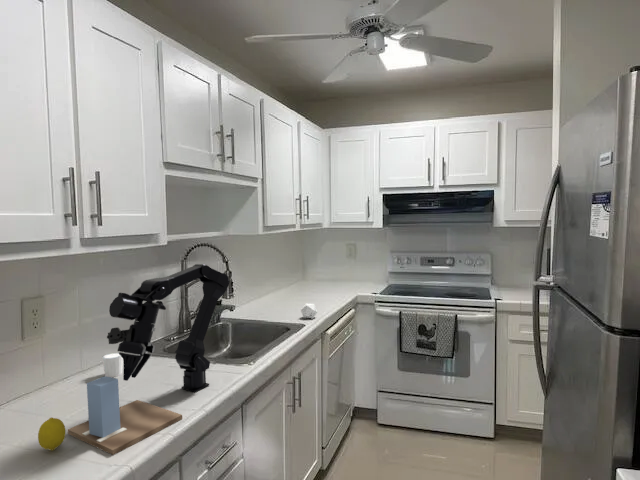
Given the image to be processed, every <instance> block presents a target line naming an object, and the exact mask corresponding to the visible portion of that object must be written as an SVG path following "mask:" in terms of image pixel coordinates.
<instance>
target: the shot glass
mask: <svg viewBox="0 0 640 480" xmlns="http://www.w3.org/2000/svg"><path fill="white" fill-rule="evenodd" d="M101 359H102V366H103V372H104V376H106V377H111V378H116V377H118V376H121V375H123V368H124V360H123V358H122V357H121V355H119V352H113V353H107V354H105V355H103V356H102V358H101Z"/></svg>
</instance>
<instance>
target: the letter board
mask: <svg viewBox="0 0 640 480" xmlns="http://www.w3.org/2000/svg"><path fill="white" fill-rule="evenodd" d="M119 409H120V429H118V430H117V431H115V432H113V433H111V434H109V435H107V436H106V437H104V438H102V437H98V436H95V435H91V434H89V420H86V421H84V422H82V423H79V424H77V425H74V426H72V427H69V428H68V429H67V434H68V435H69V436H72V437H74V438H76V439H78V440H80V441H82V442H84V443H86V444H89V445H91V446H93V447H95V448H97V449H99V450H101V451H103V452H106V453H108V454H109V455H112V456H114V455H116V454H118V453H120V452H122V451H124V450H126V449H128V448H130V447H131V446H134V445H135V444H138V443H139V442H141V441H143V440H145V439H147V438H149V437H151V436H152V435H154V434H156V433H158V432H160V431H162V430H164V429H166V428H168V427H170V426H171V425H174V424H176V423H178V422H180V421H181V420H183V414H181V413H178V412H175V411H172V410H169V409H166V408H162V407H160V406H157V405H155V404H152V403H151V404H150V403H147V402H145V401H143V400H140V399H139V400H138V399H136V400H134V401H132V402H129V403H127V404H124V405H122V406H119Z"/></svg>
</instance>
